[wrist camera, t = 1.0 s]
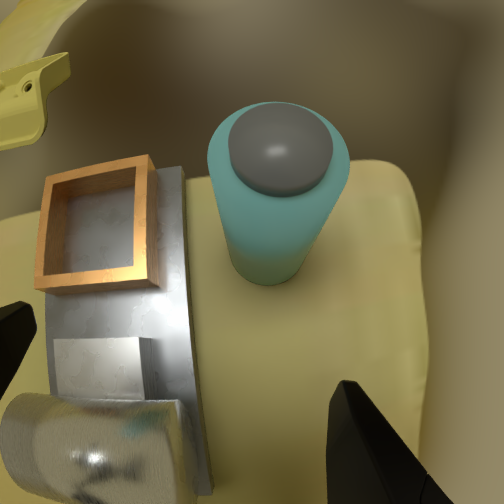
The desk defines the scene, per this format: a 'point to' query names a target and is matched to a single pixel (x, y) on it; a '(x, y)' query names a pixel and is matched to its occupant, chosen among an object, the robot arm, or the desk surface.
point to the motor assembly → (113, 345)
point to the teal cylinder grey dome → (275, 185)
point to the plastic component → (28, 98)
